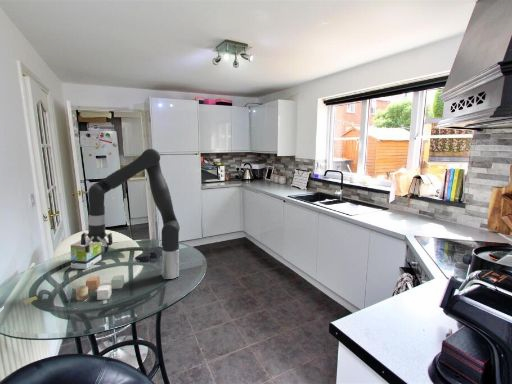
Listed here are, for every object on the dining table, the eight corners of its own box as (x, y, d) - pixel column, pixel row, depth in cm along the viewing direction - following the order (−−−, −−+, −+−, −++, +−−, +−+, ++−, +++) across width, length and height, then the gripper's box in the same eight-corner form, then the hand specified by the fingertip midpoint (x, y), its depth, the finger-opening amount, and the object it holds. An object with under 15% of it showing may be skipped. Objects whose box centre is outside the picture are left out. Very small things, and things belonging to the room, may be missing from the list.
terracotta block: (100, 284, 145) (99, 276, 144) (96, 289, 140) (96, 280, 139) (89, 285, 144) (89, 276, 143) (86, 290, 139) (85, 281, 138)
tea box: (87, 269, 160) (86, 246, 158) (70, 268, 161) (69, 245, 158) (102, 259, 175) (101, 237, 173) (86, 258, 175) (85, 236, 173)
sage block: (124, 283, 148) (123, 275, 147) (121, 288, 143) (121, 279, 142) (114, 284, 147) (113, 275, 146) (111, 288, 142) (111, 280, 141)
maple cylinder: (90, 294, 135) (89, 285, 134) (86, 300, 130) (85, 291, 129) (78, 295, 134) (78, 286, 133) (74, 301, 129) (73, 291, 128)
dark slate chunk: (169, 251, 195) (169, 245, 195) (153, 263, 174) (153, 257, 173) (150, 248, 198) (150, 242, 197) (131, 260, 177) (131, 254, 176)
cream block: (111, 293, 137) (111, 284, 136) (108, 299, 132) (108, 289, 132) (100, 294, 136) (100, 285, 135) (97, 299, 131) (97, 290, 131)
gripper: (114, 221, 143) (113, 249, 146) (84, 220, 140) (84, 249, 143) (109, 225, 136) (109, 255, 139) (78, 224, 133) (78, 255, 136)
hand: (96, 252), depth 141 cm, fingers open, 8 cm apart
